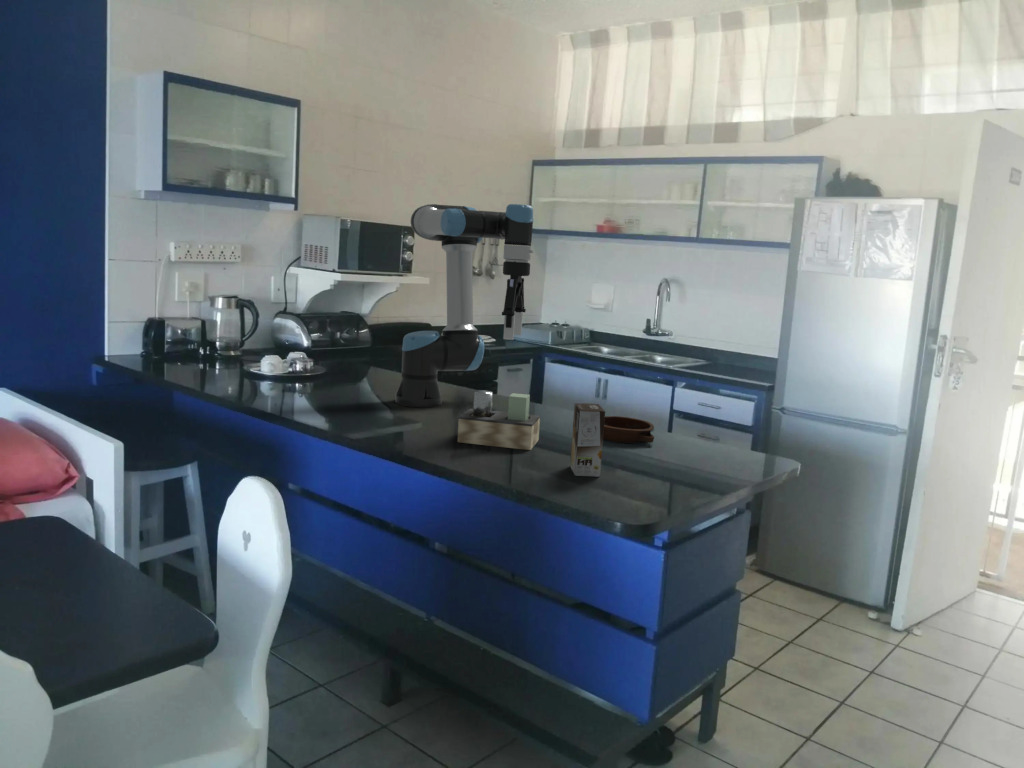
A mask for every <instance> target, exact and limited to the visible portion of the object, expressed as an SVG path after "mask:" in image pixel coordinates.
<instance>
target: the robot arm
mask: <svg viewBox="0 0 1024 768" xmlns="http://www.w3.org/2000/svg"><path fill="white" fill-rule="evenodd" d="M505 208H506V209H505V211H503V212H502V211H491V210H490V211H489V210H478V209H476V208H475V207H472V206H471V207H470V206H466V205H462V206H461V205H447V204H434V203H432V204H425V205H421V206H419V207H417V208H416V209H415V210H414V211H413V213H412V214H411V217H410V226H411V229H412V231H413V232H414V234H415V235H417V236H418V237H420V238H422V239H425V240H429V241H435V242H441V249H442V250H443V251H444V252H445V254H446V262H445V263H446V268H445V269H446V326H445V327H443V329H442V335H440V333H439V331H438V330H419V331H413V332H409V333H407V334H405V335H404V337H403V339H402V347H401V351H402V353H401V354H402V355H401V379H400V381H399V384H398V387H397V390H396V392H395V397H394V398H395V399H394V401H395V404H397V405H399V406H400V405H401V406H404V407H413V408H432V407H437V406H440V405H442V403H443V402H442V401H443V400H442V397H443V396H442V393H441V389H440V386H439V383H438V372H459V371H460V372H461V371H462V372H466V371H475V370H477V369H478V368H479V367H480V366H481V364H482V361H483V358H484V353H485V342H484V341H485V340H484V338H483V337H482V336H481V335H480V334H478V332H479V331H478V328H477V327H475V326H474V306H473V305H474V302H473V301H474V298H473V296H474V293H473V289H474V288H473V286H474V284H473V283H474V280H473V279H474V278H473V276H474V275H473V253H474V251H475V250H476V249H477V248H478V246H477V245H478V244H479V243H480V242H482V239H495V240H504V242H503V243H504V245H503V256H502V257H503V260H505V261H503V263H502V265H503V266H502V274H503V275H504V276H510V277H509V278H507V280H506V282H507V283H506V291H505V298H504V305H503V310H502V311H501V316H504V319H503V320H504V321H503V340H508V341H514V336H515V335H516V336H522V334H523V333H522V331H523V316H524V313H526V312H527V311H526V308H525V286H524V285H525V278H524V277H529V276H530V274H531V264H530V261H531V254H533V253H534V251H533V249H532V240H533V238H532V237H533V226H534V225H533V224H534V209H533V206H531V205H529V204H517V203H511V204H510V203H509V204H507V206H506V207H505Z"/></svg>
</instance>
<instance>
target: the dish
mask: <svg viewBox="0 0 1024 768" xmlns="http://www.w3.org/2000/svg"><path fill="white" fill-rule="evenodd" d="M654 429H655V425H654V424H653V423H652V422H649V421H647V420H643V419H639V418H634V417H629V416H628V417H627V416H620V415H619V416H618V415H616V416H615V415H612V416H611V415H608V416H606V415H605V421H604V434H603V441H608V442H612V443H620V444H621V443H622V444H635V443H643V442H644V443H649V444H651V443H654V440H655V435H653V434H652V431H653V430H654Z"/></svg>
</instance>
